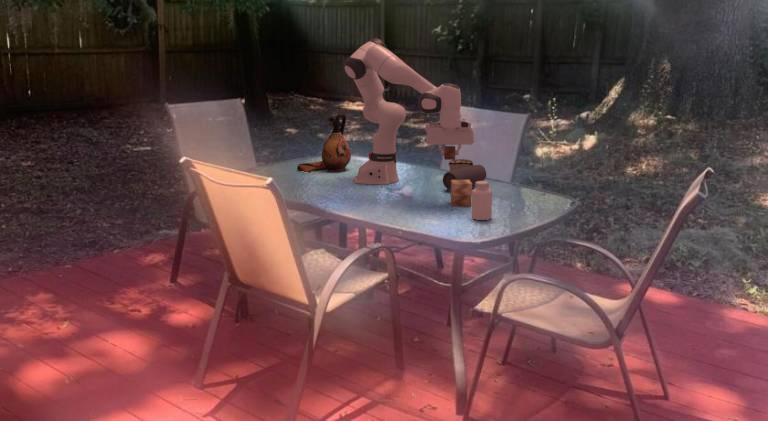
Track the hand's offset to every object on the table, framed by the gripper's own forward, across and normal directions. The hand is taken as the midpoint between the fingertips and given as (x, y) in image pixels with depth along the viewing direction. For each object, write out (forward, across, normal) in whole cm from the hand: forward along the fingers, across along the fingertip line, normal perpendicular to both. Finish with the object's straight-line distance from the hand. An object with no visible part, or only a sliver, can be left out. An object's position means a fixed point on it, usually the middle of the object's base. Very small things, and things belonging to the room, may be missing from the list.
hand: (449, 154), depth 291 cm
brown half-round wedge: (+22, +8, +44) cm, 49 cm away
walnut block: (+2, 0, 0) cm, 2 cm away
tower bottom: (+22, +5, -2) cm, 22 cm away
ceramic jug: (+21, -56, +65) cm, 89 cm away
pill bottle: (+22, +12, -24) cm, 34 cm away
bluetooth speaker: (+22, +8, +28) cm, 36 cm away
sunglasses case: (+22, -68, +66) cm, 98 cm away
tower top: (+17, +5, -2) cm, 17 cm away
